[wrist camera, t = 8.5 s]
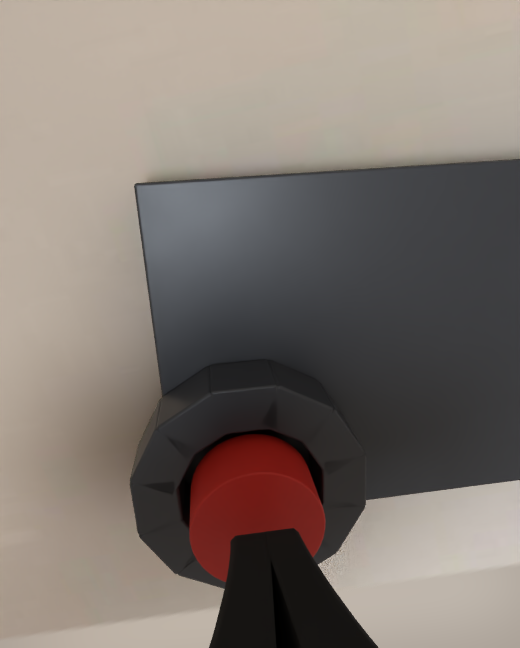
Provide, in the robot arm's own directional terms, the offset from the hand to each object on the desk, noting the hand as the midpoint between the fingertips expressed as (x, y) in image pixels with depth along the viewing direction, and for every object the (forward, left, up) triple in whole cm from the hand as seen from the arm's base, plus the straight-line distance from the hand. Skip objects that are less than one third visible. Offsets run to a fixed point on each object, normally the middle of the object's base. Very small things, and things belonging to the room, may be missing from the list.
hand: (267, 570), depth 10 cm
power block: (+2, -7, -6) cm, 10 cm away
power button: (0, 0, -3) cm, 3 cm away
